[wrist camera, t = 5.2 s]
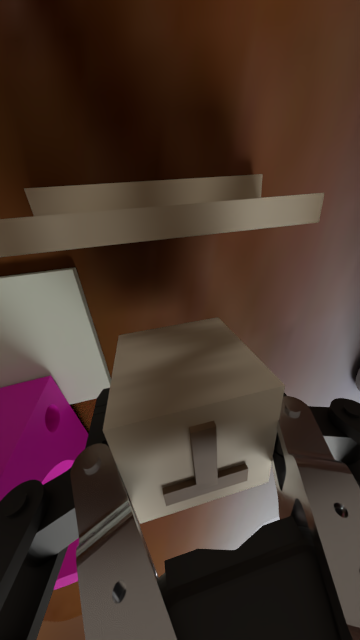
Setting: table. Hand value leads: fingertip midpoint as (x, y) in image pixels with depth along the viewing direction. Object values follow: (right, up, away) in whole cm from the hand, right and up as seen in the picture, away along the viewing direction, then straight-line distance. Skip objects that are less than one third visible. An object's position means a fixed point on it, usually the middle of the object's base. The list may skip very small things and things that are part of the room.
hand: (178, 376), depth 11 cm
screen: (-1, +10, +2) cm, 10 cm away
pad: (-12, +1, +4) cm, 13 cm away
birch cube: (0, 0, +1) cm, 1 cm away
